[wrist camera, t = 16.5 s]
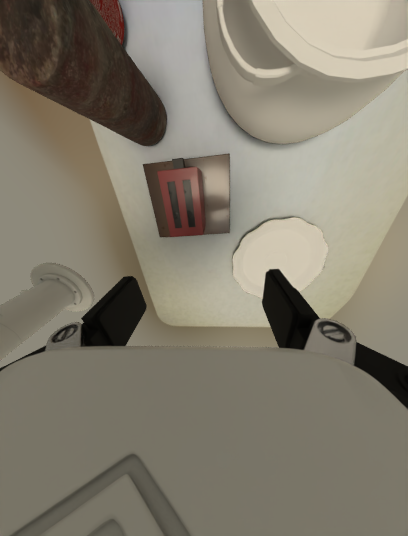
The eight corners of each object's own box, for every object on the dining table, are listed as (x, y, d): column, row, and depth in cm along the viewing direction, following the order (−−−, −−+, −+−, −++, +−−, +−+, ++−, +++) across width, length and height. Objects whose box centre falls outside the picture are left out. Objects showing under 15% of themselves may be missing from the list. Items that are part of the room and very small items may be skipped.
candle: (159, 157, 27) (58, 107, 10) (120, 135, 26) (-72, 31, 9) (173, 106, 24) (57, -114, 6) (130, 76, 23) (-162, -295, 5)
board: (161, 236, 35) (160, 237, 34) (144, 165, 28) (142, 164, 27) (229, 231, 33) (229, 232, 32) (229, 154, 26) (229, 153, 25)
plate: (262, 199, 29) (264, 200, 28) (345, 240, 32) (351, 243, 31) (217, 278, 39) (218, 281, 38) (283, 304, 42) (286, 308, 40)
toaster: (200, 161, 26) (196, 154, 20) (205, 225, 32) (203, 235, 26) (168, 165, 27) (154, 159, 21) (179, 227, 32) (170, 237, 26)
